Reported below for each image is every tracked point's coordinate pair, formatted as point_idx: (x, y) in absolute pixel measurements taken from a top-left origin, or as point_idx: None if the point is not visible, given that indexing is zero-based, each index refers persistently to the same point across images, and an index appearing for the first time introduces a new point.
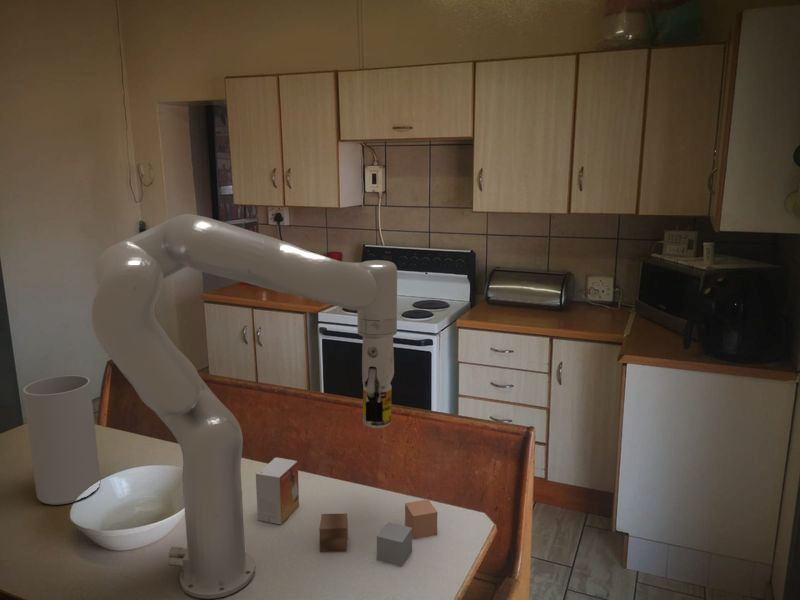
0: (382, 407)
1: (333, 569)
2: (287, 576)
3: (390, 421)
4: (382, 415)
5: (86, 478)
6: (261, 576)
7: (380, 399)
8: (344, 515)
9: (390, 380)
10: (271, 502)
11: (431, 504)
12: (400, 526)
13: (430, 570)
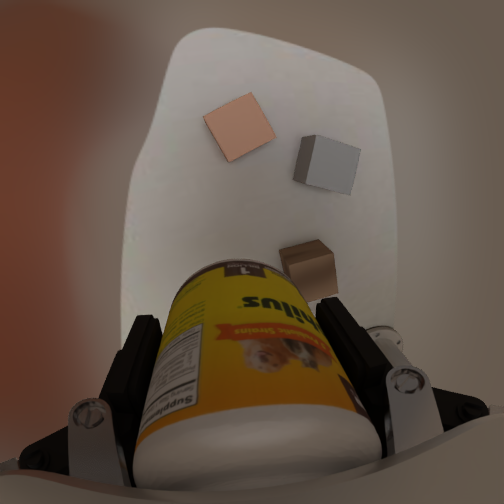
0: (363, 340)
1: (357, 245)
2: (371, 294)
3: (239, 260)
4: (340, 311)
5: None
6: (370, 320)
7: (399, 385)
8: (296, 268)
9: (374, 501)
10: None
11: (223, 107)
12: (315, 157)
13: (341, 106)
